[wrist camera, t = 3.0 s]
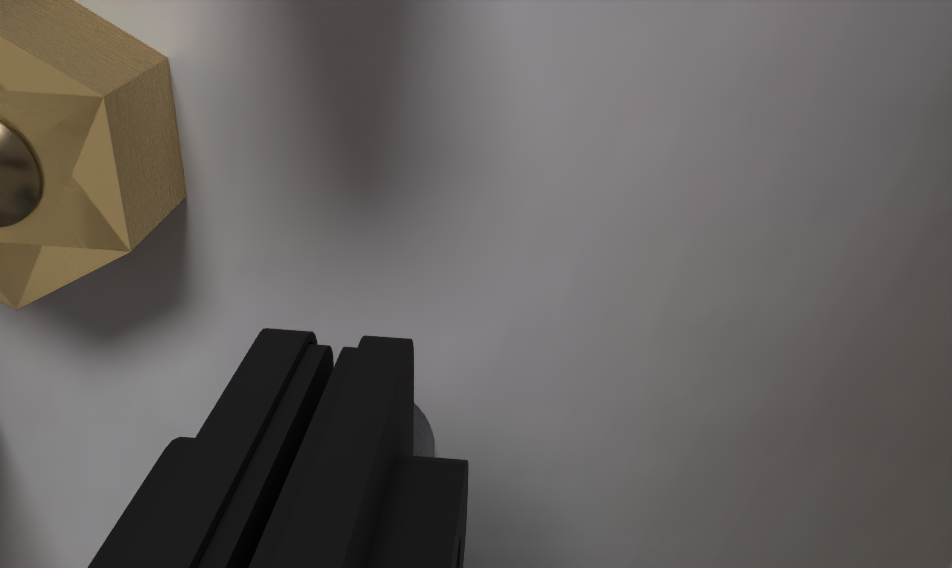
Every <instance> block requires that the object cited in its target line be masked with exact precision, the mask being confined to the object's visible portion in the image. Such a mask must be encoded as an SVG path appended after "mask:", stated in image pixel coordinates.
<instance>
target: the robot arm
mask: <svg viewBox="0 0 952 568" xmlns="http://www.w3.org/2000/svg"><path fill="white" fill-rule="evenodd" d="M413 445H414V347H413V341H412V339H404V338H391V337H377V336H363V337H362V339H361V340H360V343H359V345H358V348H354V347H343V349H342V350H341V352H340V355H339V357H338V359H337V362H336V364H335V366H334V362H333V352H332V348H331V347H330V346H327V345H317V339H316V336H315V334H314V333H313V332H309V331H296V330H282V329H269V328H266V329H263V330H262V331H261V332H260V333H259V335H258V336H257V338H256V339H255V341H254V343H253V344H252V346H251V348H250V349H249V351H248V353H247V354H246V356H245V357H244V359H243V361H242V362H241V364H240V366H239V367H238V369H237V371H236V372H235V374H234V375H233V377H232V379H231V380H230V382H229V384H228V385H227V387H226V388H225V390H224V392H223V393H222V395H221V397H220V398H219V400H218V402H217V403H216V405H215V406H214V408H213V410H212V411H211V413H210V415H209V416H208V418H207V420H206V421H205V423H204V424H203V426H202V428H201V429H200V431H199V433H198V434H197V436H196V438H189V437H178V438H176V439H174V440H172V441H171V442H170V444H169V445H168V446H167V447H166V448H165V450H164V451H163V453H162V454H161V456H160V457H159V459H158V460H157V462H156V463H155V465H154V466H153V468H152V470H151V471H150V473H149V474H148V476H147V477H146V479H145V480H144V482H143V483H142V485H141V486H140V488H139V489H138V491H137V493H136V494H135V496H134V497H133V499H132V500H131V502H130V503H129V505H128V506H127V508H126V509H125V511H124V513H123V514H122V516H121V517H120V519H119V520H118V522H117V523H116V525H115V526H114V528H113V529H112V531H111V532H110V534H109V536H108V537H107V539H106V540H105V542H104V543H103V545H102V546H101V548H100V549H99V551H98V552H97V554H96V555H95V557H94V559H93V560H92V562H91V563H90V565H89V566H88V568H463V560H464V548H465V535H466V518H467V496H468V460H459V459H447V458H435V457H423V456H413Z"/></svg>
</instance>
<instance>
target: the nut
mask: <svg viewBox="0 0 952 568" xmlns="http://www.w3.org/2000/svg"><path fill="white" fill-rule="evenodd" d="M186 196H187V193H186V186H185V178H184V171H183V164H182V156H181V149H180V142H179V134H178V127H177V120H176V112H175V105H174V97H173V90H172V83H171V75H170V68H169V61H168V57H166V56H164V55H163V54H161V53H160V52H158V51H156V50H155V49H153V48H151V47H150V46H148V45H146V44H145V43H143V42H141V41H140V40H138V39H136V38H135V37H133V36H131V35H130V34H128V33H126V32H125V31H123V30H121V29H120V28H118V27H117V26H115V25H113V24H112V23H110V22H108V21H107V20H105V19H103V18H102V17H100V16H98V15H97V14H95V13H93V12H92V11H90V10H88V9H87V8H85V7H83V6H82V5H80V4H78V3H77V2H75V1H73V0H0V301H1V302H3V303H4V304H6V305H8V306H10V307H12V308H14V309H16V310H17V309H19V308H21V307H23V306H25V305H27V304H29V303H31V302H33V301H35V300H37V299H39V298H41V297H43V296H45V295H47V294H49V293H51V292H53V291H55V290H57V289H59V288H60V287H62V286H64V285H66V284H68V283H70V282H72V281H74V280H76V279H78V278H80V277H82V276H84V275H86V274H88V273H90V272H92V271H94V270H96V269H98V268H100V267H102V266H104V265H106V264H108V263H110V262H112V261H114V260H116V259H117V258H119V257H121V256H123V255H125V254H127V253H129V252H131V251H132V250H133V249H134V248H135V247H136V246H137V245H138V244H139V243H140V242H141V241H142V240H143V239H144V238H145V237H146V236H147V235H148V234H149V233H150V232H151V231H152V230H153V229H154V228H155V227H156V226H157V225H158V224H159V223H160V222H161V221H162V220H163V219H164V218H165V217H166V216H167V215H168V214H169V213H170V212H171V211H172V210H173V209H174V208H175V207H176V206H177V205H178V204H179V203H180V202H181V201H182V200H183V199H184V198H185V197H186Z"/></svg>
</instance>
